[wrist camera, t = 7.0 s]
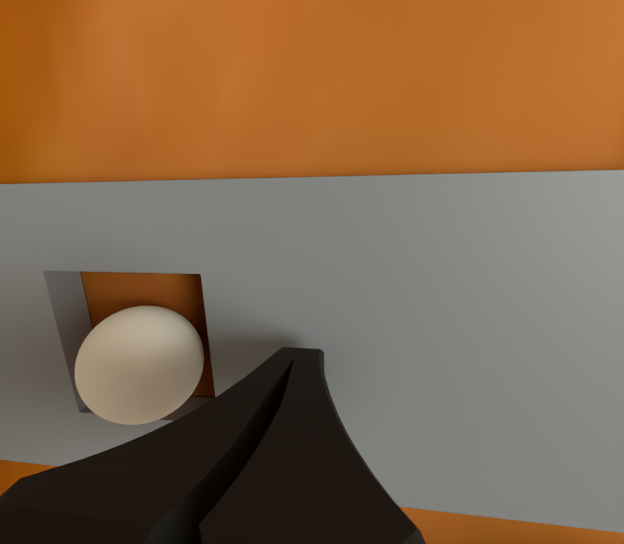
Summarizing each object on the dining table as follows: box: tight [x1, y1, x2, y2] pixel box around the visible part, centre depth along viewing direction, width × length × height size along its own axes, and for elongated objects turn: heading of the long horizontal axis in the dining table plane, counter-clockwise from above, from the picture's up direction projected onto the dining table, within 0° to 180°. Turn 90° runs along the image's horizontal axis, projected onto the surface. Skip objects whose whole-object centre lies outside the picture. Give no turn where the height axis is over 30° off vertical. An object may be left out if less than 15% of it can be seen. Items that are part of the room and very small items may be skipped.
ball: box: [75, 306, 204, 425], centre depth 11 cm, size 4×4×4 cm
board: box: [0, 170, 624, 533], centre depth 12 cm, size 12×26×2 cm, turn 91°
